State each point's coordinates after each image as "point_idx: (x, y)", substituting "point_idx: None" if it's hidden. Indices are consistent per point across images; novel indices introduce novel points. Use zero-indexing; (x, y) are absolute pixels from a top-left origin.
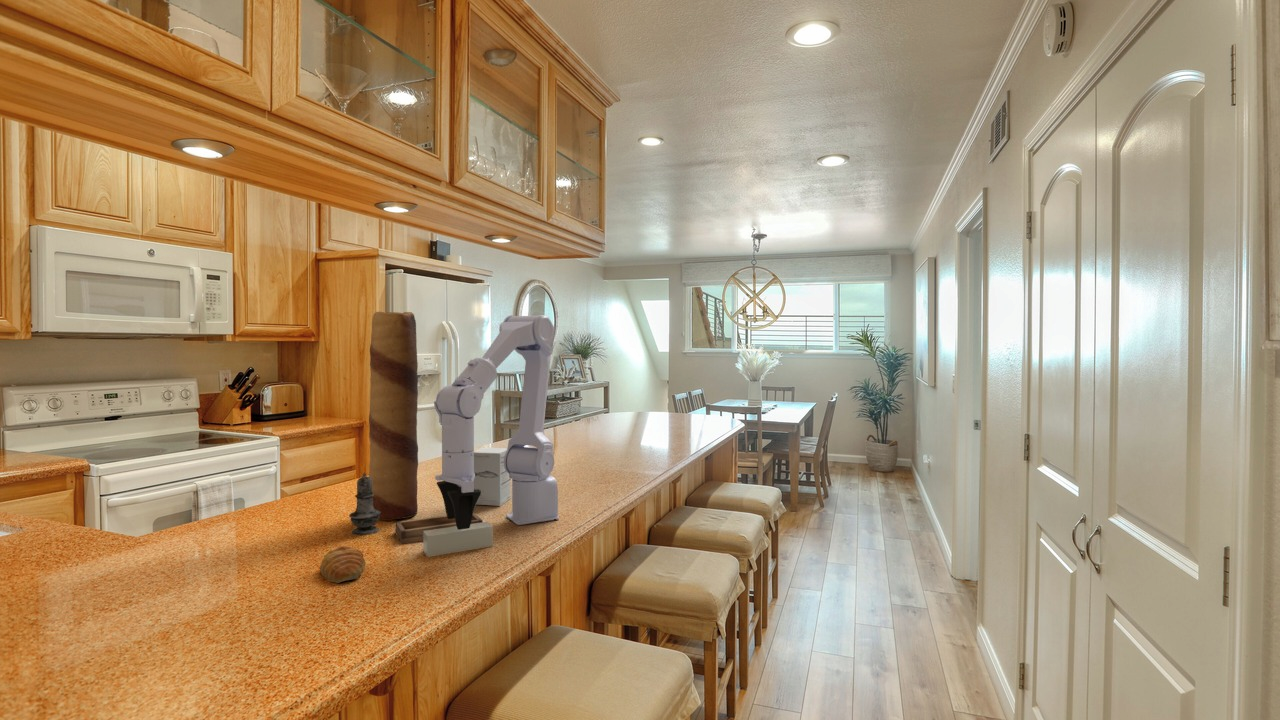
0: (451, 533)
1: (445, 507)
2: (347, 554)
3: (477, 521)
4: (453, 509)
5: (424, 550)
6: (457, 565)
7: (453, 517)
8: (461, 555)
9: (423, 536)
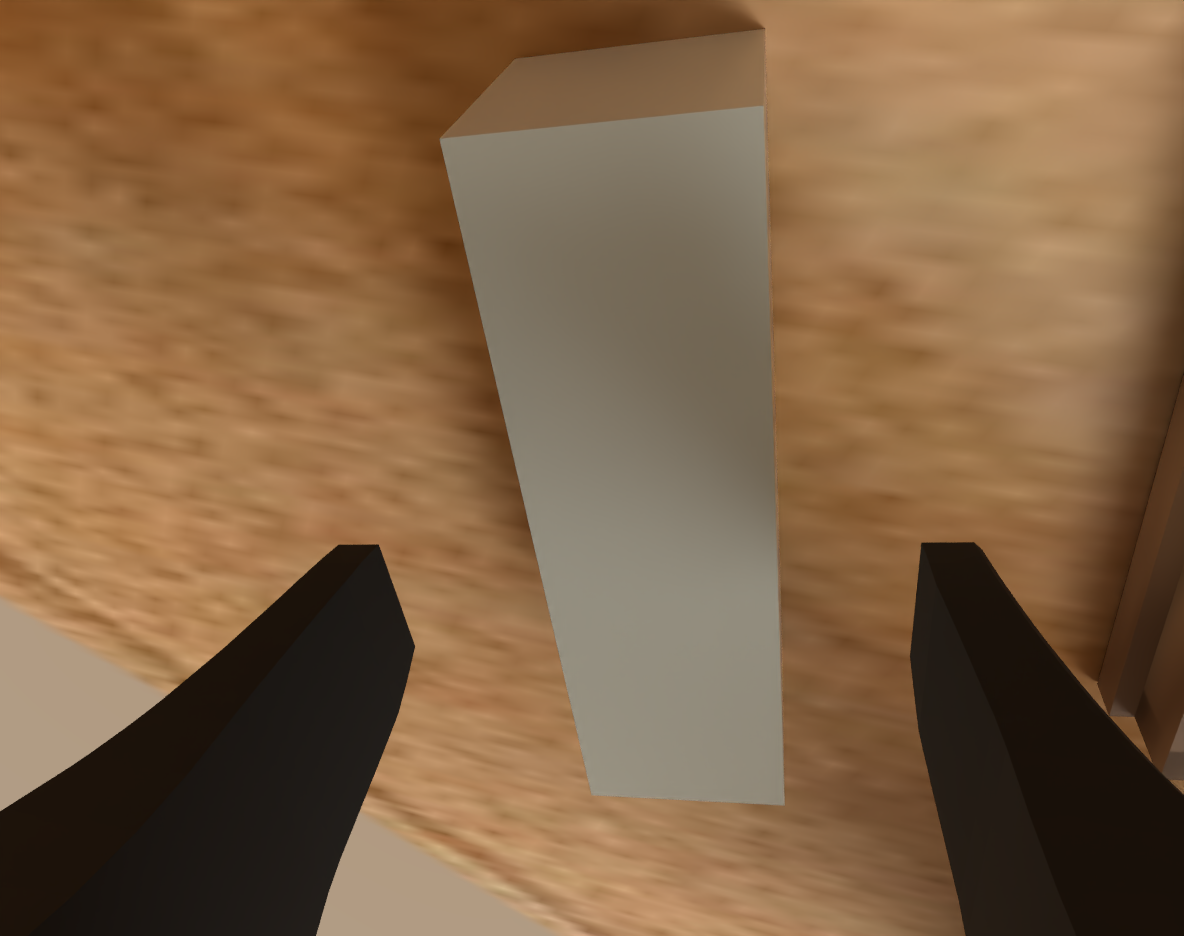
0: (516, 449)
1: (1003, 656)
2: None
3: (1168, 737)
4: (943, 709)
5: (686, 44)
6: (182, 316)
7: (920, 609)
8: (452, 394)
9: (742, 83)
